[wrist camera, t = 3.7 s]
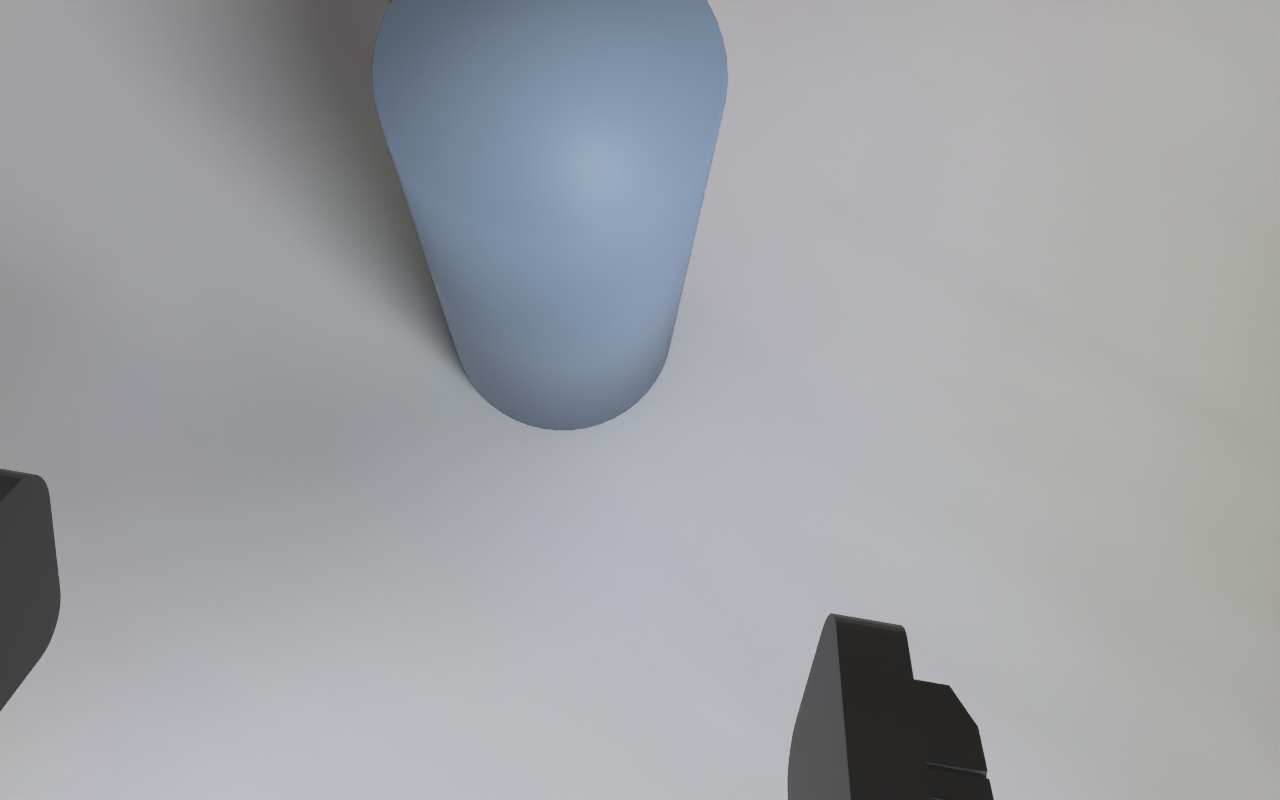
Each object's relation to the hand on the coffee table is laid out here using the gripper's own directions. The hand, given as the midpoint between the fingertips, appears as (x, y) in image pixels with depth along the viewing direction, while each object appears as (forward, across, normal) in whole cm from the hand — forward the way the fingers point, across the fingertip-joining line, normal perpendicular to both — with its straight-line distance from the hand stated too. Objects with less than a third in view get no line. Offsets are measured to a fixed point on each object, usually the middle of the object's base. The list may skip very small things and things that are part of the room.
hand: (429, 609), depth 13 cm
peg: (+12, 0, +3) cm, 13 cm away
